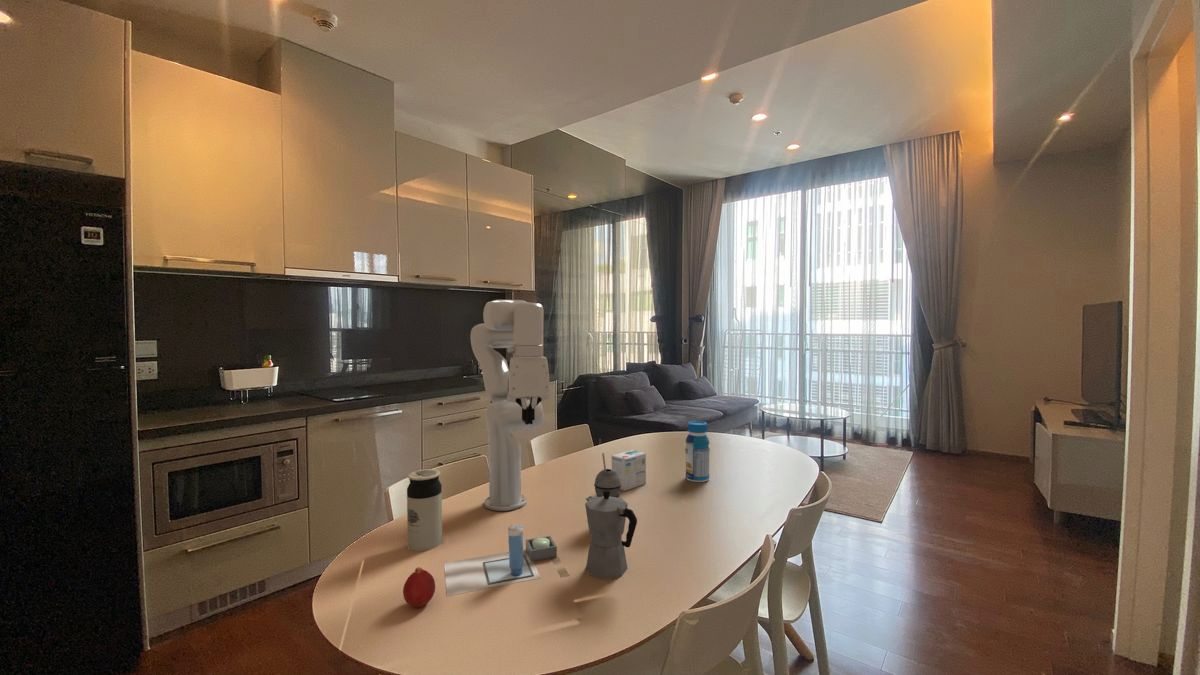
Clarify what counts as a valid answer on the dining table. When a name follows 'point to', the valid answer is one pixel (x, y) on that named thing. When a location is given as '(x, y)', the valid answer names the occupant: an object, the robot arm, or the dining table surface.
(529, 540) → the button housing
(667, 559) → the dining table surface
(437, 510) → the travel mug
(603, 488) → the beverage cup
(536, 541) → the button
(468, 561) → the clipboard
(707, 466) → the beverage bottle
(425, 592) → the onion
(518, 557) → the marker
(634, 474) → the light bulb box
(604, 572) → the coffeepot
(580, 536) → the dining table surface
